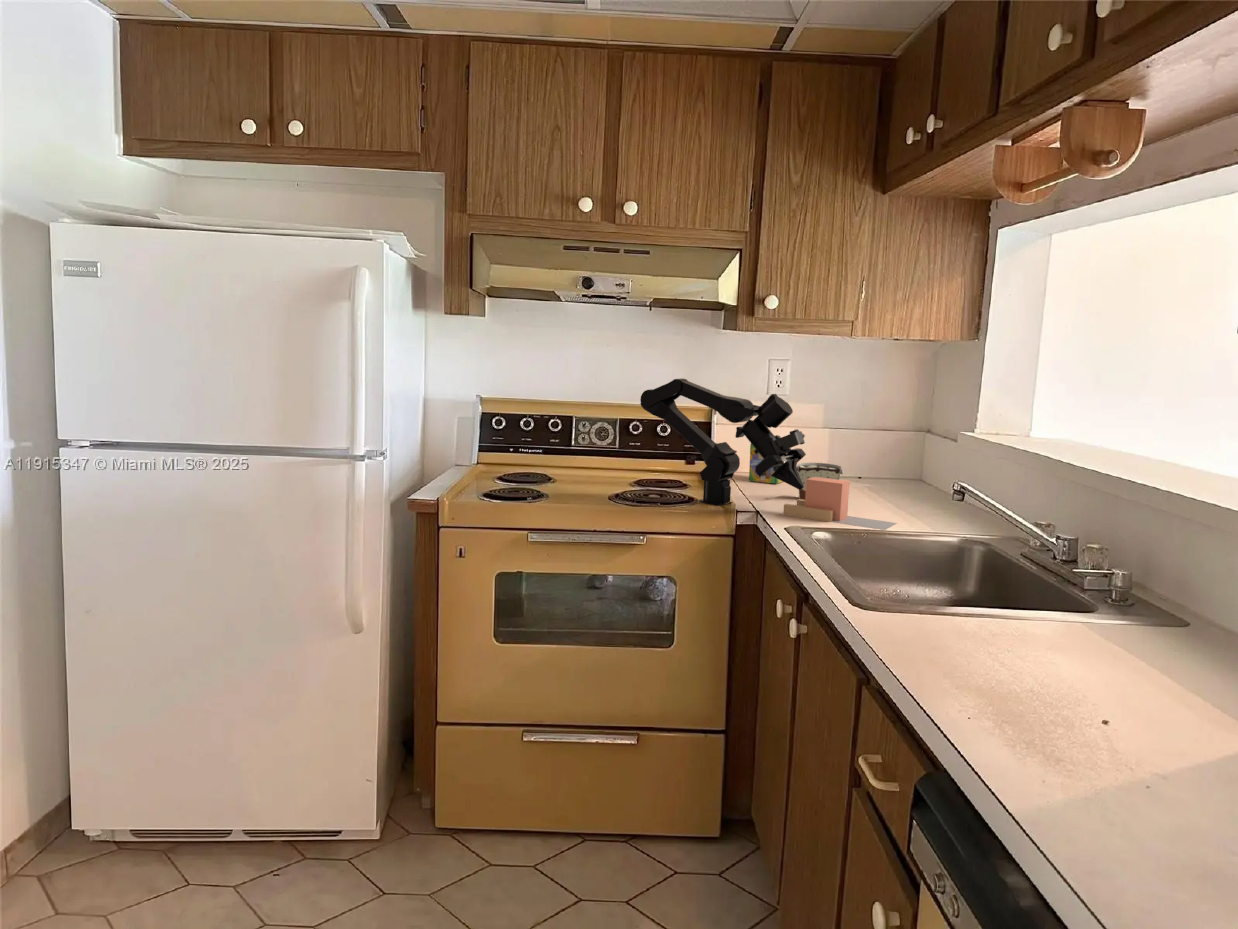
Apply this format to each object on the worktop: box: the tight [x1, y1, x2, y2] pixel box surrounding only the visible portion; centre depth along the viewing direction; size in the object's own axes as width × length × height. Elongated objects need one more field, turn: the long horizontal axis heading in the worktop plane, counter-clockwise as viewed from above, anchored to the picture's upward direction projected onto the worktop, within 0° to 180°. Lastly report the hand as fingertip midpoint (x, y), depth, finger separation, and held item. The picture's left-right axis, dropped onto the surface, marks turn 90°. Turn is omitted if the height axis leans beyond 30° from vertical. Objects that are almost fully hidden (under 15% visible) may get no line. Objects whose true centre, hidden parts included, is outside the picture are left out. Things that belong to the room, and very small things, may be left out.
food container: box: [796, 462, 843, 500], centre depth 242 cm, size 12×6×10 cm, turn 84°
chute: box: [780, 498, 898, 531], centre depth 217 cm, size 26×10×3 cm, turn 56°
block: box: [805, 477, 851, 521], centre depth 218 cm, size 9×5×9 cm, turn 56°
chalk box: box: [748, 443, 784, 485], centre depth 271 cm, size 9×9×15 cm
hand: (802, 488), depth 221 cm, fingers closed
